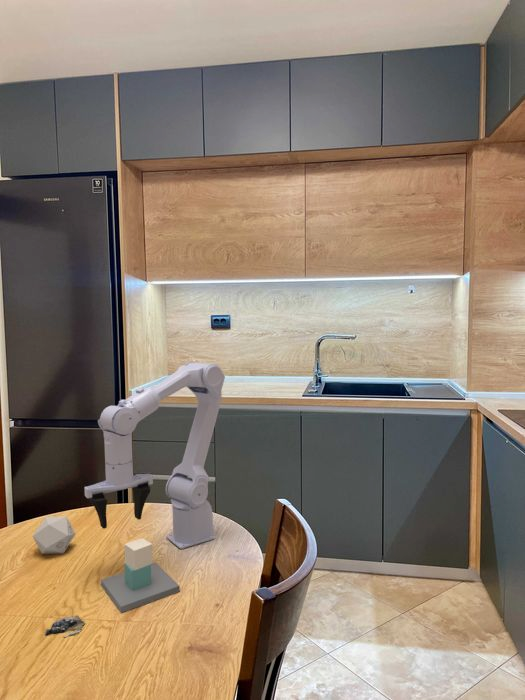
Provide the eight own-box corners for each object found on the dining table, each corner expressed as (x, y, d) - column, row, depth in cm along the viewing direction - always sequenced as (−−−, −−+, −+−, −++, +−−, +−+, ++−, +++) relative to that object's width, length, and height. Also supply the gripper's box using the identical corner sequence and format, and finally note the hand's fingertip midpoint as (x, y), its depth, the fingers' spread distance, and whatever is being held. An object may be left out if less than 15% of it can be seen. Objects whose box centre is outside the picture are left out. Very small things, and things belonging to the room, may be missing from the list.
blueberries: (90, 631, 88) (89, 621, 87) (43, 652, 82) (42, 641, 82) (75, 614, 93) (75, 605, 92) (30, 633, 87) (30, 623, 87)
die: (49, 566, 111) (75, 527, 114) (19, 545, 113) (45, 507, 115) (63, 561, 119) (87, 525, 122) (34, 542, 120) (59, 506, 123)
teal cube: (143, 575, 103) (143, 557, 103) (151, 584, 100) (150, 564, 99) (125, 581, 101) (124, 563, 100) (132, 590, 97) (131, 571, 97)
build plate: (155, 567, 109) (155, 562, 109) (179, 591, 99) (179, 585, 99) (101, 585, 102) (100, 579, 102) (121, 612, 92) (120, 606, 92)
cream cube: (142, 556, 103) (142, 537, 103) (152, 563, 100) (152, 544, 100) (125, 563, 100) (124, 544, 100) (134, 570, 97) (134, 550, 97)
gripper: (143, 451, 114) (145, 508, 115) (79, 463, 106) (81, 524, 107) (156, 458, 109) (157, 518, 110) (89, 471, 100) (91, 536, 101)
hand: (121, 522), depth 108 cm, fingers open, 7 cm apart
